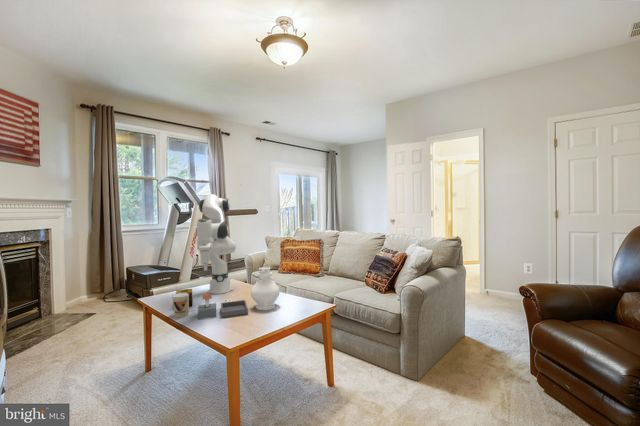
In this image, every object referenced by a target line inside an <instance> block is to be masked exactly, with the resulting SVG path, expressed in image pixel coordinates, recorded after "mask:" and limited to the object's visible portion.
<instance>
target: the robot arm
mask: <svg viewBox="0 0 640 426" xmlns="http://www.w3.org/2000/svg"><path fill="white" fill-rule="evenodd" d="M198 203H199V204H198V209H199V212H200V213H201V214H203V215H204V216H205V218H200V219H197V222H196V229H195V234H196V237H197V239H196V249H197V250H198V251H199V254H200V262H201V265H203V271H208V267H209V261H210V265H211V280H210V281H209V289H208V290H207V291H206V292H207V293H206V294H211V295H212V294H216V295H217V294H219V295H220V294H225V293H228V292H231V291H234V288H233V287H232V286H231V279H230V278H229V271H228V262H227V260H225V259H223V258H220V256H223V255H229V254H232V253H235V251H236V249H237V244H236V242H235V241H234V240H233V239H231V238H230V237H229V233H230V232H229V231H230V230H229V227H228V224H227V218H226V215H225V214H226V213H228V212H229V211H230V208H231V202H230V199H229V198H227V197H219V196H218V195H216V194H215V193H214V194H213V193H211V194H210V193H209V194H208V195H206V196H205V198H203V199H201V200H200V201H199V202H198ZM216 239H217V240H216Z"/></svg>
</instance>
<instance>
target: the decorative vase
mask: <svg viewBox="0 0 640 426" xmlns="http://www.w3.org/2000/svg"><path fill="white" fill-rule="evenodd" d="M256 275H257V277H258V278H259V279H258V280H257V281H256V283H255V284H254V285H253V286H252V289H251V292H250V296H251V299H252V300H253V301H254V302H255V303H256V305H255V309H256V310H258V311H259V310H260V311H268V310H273V309H275V308H276V304H275V302H276V301H277V299H278V298H279V295H280V287H279V286H278V285H277V283H276V282H275V281H274V280H273V279H272V278H271V277H272V276H273V272H272V271H271V267H270V266H261V267H259V268H258V272H257V274H256Z"/></svg>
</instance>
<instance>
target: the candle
mask: <svg viewBox="0 0 640 426" xmlns="http://www.w3.org/2000/svg"><path fill="white" fill-rule="evenodd" d="M179 293H188V294H189V308H192V307H193V304H194V302H193V301H194V300H193V288H184V289H183V288H182V289H176V292H175V294H179ZM175 294H174V295H175Z"/></svg>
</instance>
